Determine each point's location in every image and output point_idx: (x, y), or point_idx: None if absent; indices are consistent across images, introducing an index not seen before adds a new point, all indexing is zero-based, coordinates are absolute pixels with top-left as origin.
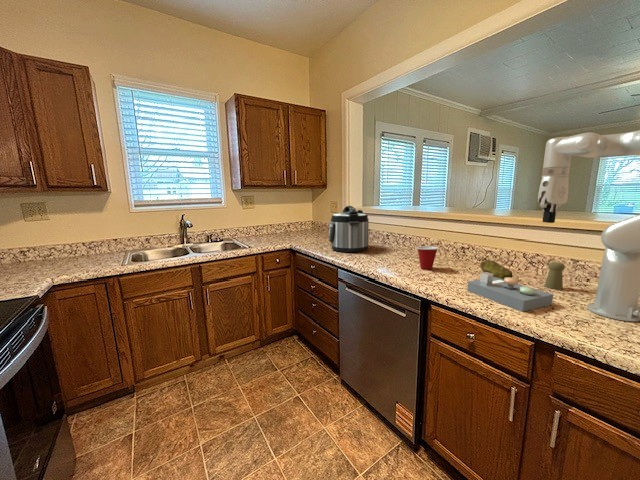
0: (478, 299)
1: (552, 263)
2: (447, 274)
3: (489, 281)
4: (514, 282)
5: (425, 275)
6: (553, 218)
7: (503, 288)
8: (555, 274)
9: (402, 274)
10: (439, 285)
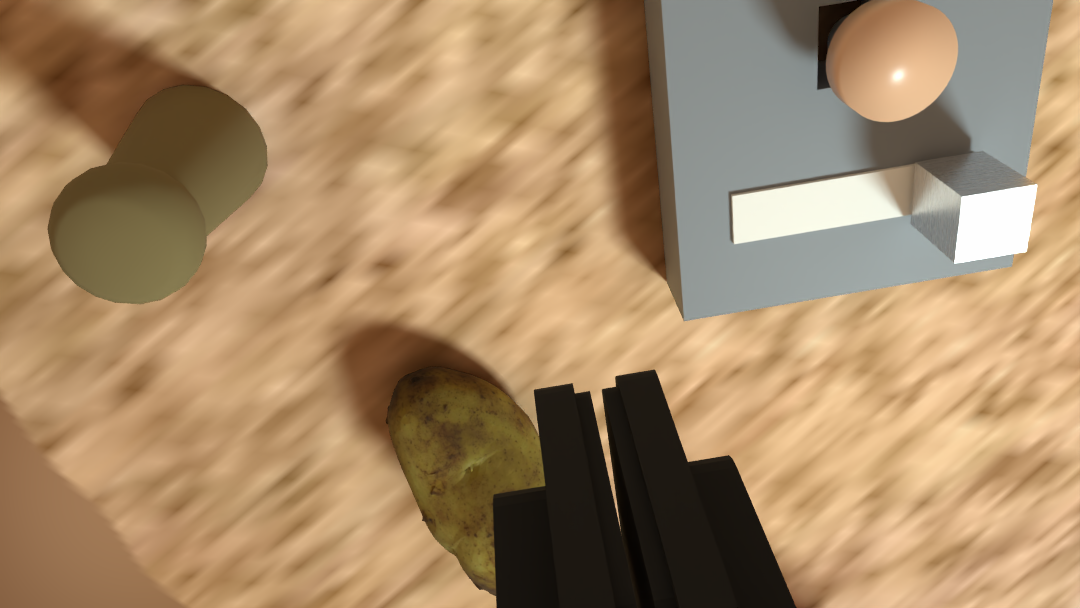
0: (1070, 57)
1: (171, 259)
2: (775, 541)
3: (965, 164)
4: (923, 3)
5: (944, 543)
6: (604, 461)
7: None
8: (194, 170)
9: (1070, 579)
10: (1047, 360)
